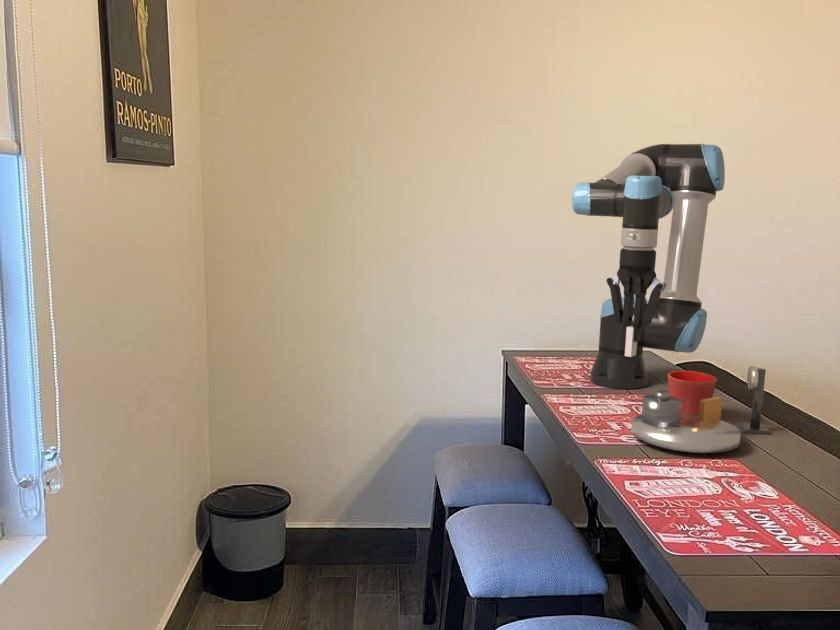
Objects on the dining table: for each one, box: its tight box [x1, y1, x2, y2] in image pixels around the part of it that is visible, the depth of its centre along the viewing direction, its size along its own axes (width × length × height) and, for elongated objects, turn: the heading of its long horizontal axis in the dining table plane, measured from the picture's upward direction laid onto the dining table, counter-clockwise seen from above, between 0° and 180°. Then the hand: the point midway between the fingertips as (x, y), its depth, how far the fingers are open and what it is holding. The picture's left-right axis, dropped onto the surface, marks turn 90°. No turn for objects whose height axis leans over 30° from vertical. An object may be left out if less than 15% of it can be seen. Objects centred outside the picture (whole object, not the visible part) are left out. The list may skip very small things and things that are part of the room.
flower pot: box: [667, 370, 718, 415], centre depth 195 cm, size 11×11×10 cm
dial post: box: [740, 365, 770, 436], centre depth 185 cm, size 5×5×14 cm
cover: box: [641, 390, 682, 427], centre depth 179 cm, size 8×8×6 cm
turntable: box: [630, 396, 742, 454], centre depth 176 cm, size 22×22×7 cm
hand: (630, 355), depth 183 cm, fingers closed
